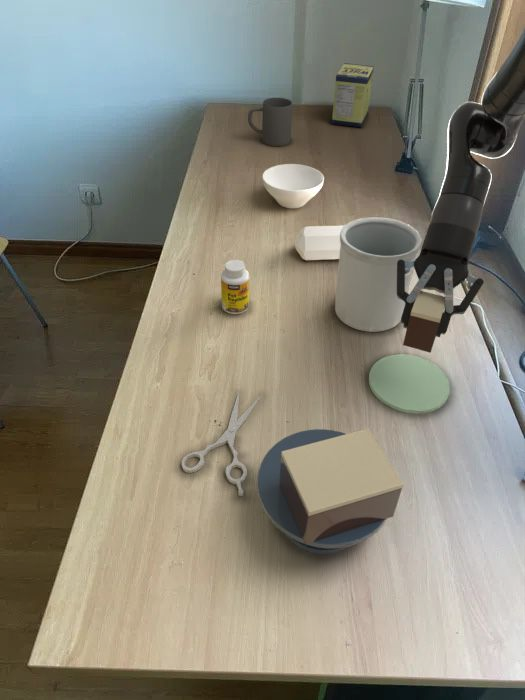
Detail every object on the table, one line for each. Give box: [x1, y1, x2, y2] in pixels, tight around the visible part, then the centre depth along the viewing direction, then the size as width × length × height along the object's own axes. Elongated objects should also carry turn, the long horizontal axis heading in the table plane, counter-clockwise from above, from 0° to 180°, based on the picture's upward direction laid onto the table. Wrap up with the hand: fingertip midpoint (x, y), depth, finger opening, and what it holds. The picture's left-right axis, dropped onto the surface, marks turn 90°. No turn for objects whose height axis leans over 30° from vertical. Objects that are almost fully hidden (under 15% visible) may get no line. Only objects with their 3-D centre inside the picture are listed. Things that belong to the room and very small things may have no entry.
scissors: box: [181, 391, 262, 497], centre depth 89 cm, size 11×1×20 cm
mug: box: [247, 97, 293, 147], centre depth 176 cm, size 14×9×12 cm
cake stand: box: [257, 428, 404, 555], centre depth 75 cm, size 18×18×15 cm
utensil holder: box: [334, 217, 423, 333], centre depth 109 cm, size 15×15×18 cm
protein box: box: [331, 62, 375, 128], centre depth 191 cm, size 10×16×16 cm
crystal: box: [294, 224, 346, 261], centre depth 129 cm, size 7×7×24 cm
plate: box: [368, 353, 451, 415], centre depth 99 cm, size 14×14×1 cm
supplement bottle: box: [220, 259, 250, 315], centre depth 112 cm, size 6×6×10 cm
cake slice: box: [402, 290, 445, 354], centre depth 90 cm, size 4×6×7 cm
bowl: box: [261, 163, 325, 209], centre depth 147 cm, size 16×16×7 cm
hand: (421, 331), depth 89 cm, fingers closed on cake slice, 4 cm apart
